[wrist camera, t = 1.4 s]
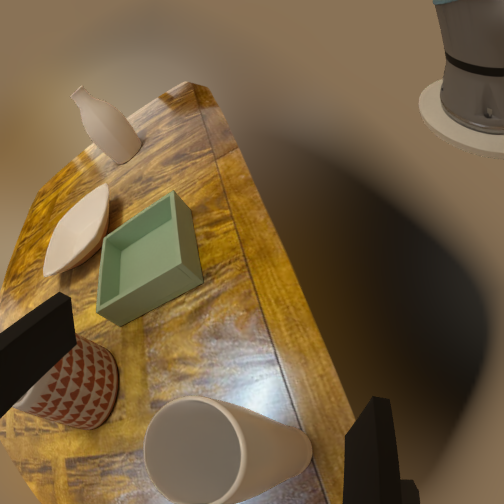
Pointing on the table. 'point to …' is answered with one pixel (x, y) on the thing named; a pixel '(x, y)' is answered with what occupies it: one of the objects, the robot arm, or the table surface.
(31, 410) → the planter
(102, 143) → the bottle
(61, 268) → the bowl
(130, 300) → the bin
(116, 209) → the table surface
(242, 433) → the white cup
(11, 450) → the table surface
